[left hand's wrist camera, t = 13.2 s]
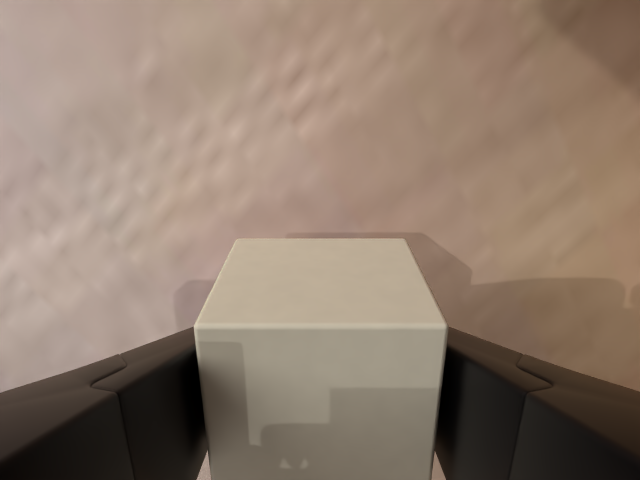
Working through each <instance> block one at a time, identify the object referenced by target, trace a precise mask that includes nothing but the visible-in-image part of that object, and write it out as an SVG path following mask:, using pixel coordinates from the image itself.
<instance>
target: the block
mask: <svg viewBox="0 0 640 480" xmlns="http://www.w3.org/2000/svg"><path fill="white" fill-rule="evenodd" d="M448 329H449V327H448V324H447V322H446V320H445V318H444V316H443V314H442V312H441V310H440V308H439V306H438V303H437V301H436V299H435V297H434V295H433V293H432V291H431V289H430V287H429V285H428V283H427V281H426V279H425V277H424V275H423V273H422V271H421V269H420V267H419V265H418V263H417V261H416V259H415V257H414V255H413V253H412V251H411V249H410V247H409V245H408V243H407V241H406V239H403V238H244V239H236V241H235V243H234V245H233V247H232V249H231V251H230V253H229V255H228V257H227V259H226V261H225V263H224V265H223V267H222V269H221V272H220V274H219V276H218V278H217V280H216V282H215V284H214V286H213V288H212V290H211V292H210V294H209V296H208V298H207V300H206V302H205V304H204V306H203V308H202V310H201V312H200V314H199V317H198V319H197V321H196V323H195V325H194V334H195V343H196V351H197V360H198V369H199V377H200V386H201V395H202V404H203V412H204V421H205V430H206V438H207V447H208V456H209V465H210V473H211V480H431V477H432V468H433V460H434V451H435V442H436V434H437V425H438V416H439V408H440V399H441V390H442V381H443V373H444V364H445V355H446V347H447V338H448Z"/></svg>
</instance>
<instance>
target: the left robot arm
mask: <svg viewBox="0 0 640 480" xmlns="http://www.w3.org/2000/svg"><path fill="white" fill-rule="evenodd" d="M207 450H208V447H207V438H206V430H205V421H204V412H203V404H202V395H201V386H200V377H199V369H198V360H197V351H196V343H195V334H194V327H192V328H189V329H186V330H184V331H181V332H178V333H176V334H173V335H170V336H167V337H165V338H162V339H159V340H157V341H154V342H151V343H149V344H146V345H143V346H140V347H138V348H135V349H132V350H130V351H127V352H124V353H122V354H120V355H119V354H117V355H115V356H112V357H109V358H106V359H104V360H101V361H98V362H95V363H92V364H89V365H87V366H84V367H81V368H78V369H74V370H71V371H68V372H65V373H62V374H59V375H56V376H53V377H50V378H46V379H43V380H40V381H37V382H34V383H30V384H27V385H24V386H21V387H18V388H14V389H11V390H8V391H5V392H2V393H0V480H196V479H197V477H198V474H199V471H200V469H201V466H202V463H203V461H204V458H205V456H206V453H207ZM435 452H436V454H437V457H438V460H439V462H440V465H441V467H442V470H443V473H444V475H445V478H446V480H640V392H639V391H636V390H632V389H629V388H626V387H623V386H620V385H616V384H613V383H610V382H607V381H604V380H600V379H597V378H594V377H591V376H587V375H584V374H581V373H578V372H575V371H572V370H569V369H566V368H563V367H560V366H557V365H554V364H551V363H548V362H545V361H542V360H539V359H537V358H534V357H531V356H528V355H526V354H524V355H523V354H521V353H518V352H516V351H513V350H510V349H508V348H505V347H502V346H499V345H497V344H494V343H491V342H489V341H486V340H483V339H480V338H478V337H475V336H472V335H470V334H467V333H464V332H461V331H459V330H456V329H453V328H451V327H449V329H448V338H447V347H446V355H445V364H444V373H443V381H442V390H441V399H440V408H439V416H438V425H437V434H436V442H435Z"/></svg>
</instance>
